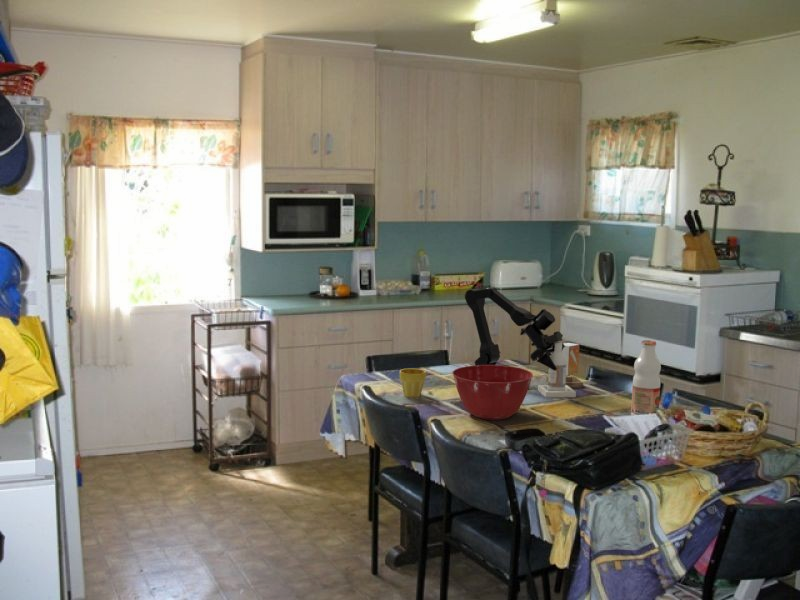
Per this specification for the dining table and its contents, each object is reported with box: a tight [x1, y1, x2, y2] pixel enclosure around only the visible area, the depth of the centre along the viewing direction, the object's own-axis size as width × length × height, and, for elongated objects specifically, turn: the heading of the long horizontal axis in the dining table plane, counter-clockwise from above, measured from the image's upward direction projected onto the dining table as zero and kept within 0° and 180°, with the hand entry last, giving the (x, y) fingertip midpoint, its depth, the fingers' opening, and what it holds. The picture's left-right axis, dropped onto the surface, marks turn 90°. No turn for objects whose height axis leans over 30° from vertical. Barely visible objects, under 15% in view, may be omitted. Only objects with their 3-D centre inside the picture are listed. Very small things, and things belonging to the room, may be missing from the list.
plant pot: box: [399, 367, 427, 399], centre depth 323 cm, size 10×10×10 cm
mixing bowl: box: [452, 364, 534, 421], centre depth 296 cm, size 28×28×15 cm
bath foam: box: [547, 341, 567, 391], centre depth 330 cm, size 7×7×20 cm
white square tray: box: [537, 384, 577, 398], centre depth 331 cm, size 12×12×2 cm
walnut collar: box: [546, 375, 584, 389], centre depth 347 cm, size 12×12×2 cm
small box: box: [562, 342, 580, 376], centre depth 369 cm, size 8×6×13 cm
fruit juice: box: [630, 339, 662, 416], centre depth 294 cm, size 9×9×28 cm
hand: (560, 368), depth 329 cm, fingers closed on bath foam, 7 cm apart
